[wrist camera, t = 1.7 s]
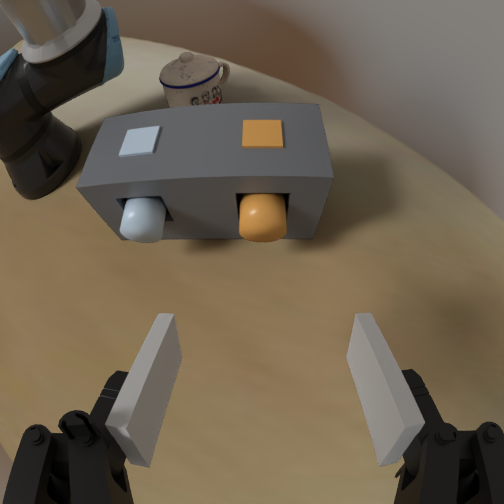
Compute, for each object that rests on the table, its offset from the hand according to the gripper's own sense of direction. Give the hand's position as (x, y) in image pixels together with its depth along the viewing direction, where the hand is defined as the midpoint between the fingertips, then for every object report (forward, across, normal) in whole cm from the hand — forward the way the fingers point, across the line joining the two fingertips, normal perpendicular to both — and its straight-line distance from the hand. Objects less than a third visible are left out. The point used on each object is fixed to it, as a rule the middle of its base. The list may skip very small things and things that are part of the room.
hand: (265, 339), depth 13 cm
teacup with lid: (+40, -10, +14) cm, 43 cm away
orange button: (+18, 0, 0) cm, 18 cm away
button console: (+26, -6, +1) cm, 26 cm away
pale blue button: (+18, -12, 0) cm, 22 cm away
